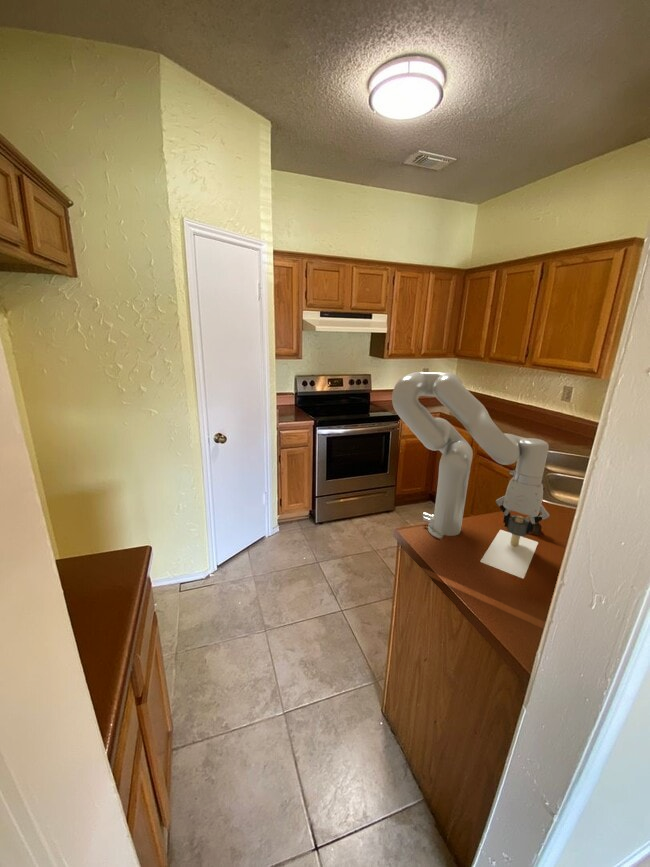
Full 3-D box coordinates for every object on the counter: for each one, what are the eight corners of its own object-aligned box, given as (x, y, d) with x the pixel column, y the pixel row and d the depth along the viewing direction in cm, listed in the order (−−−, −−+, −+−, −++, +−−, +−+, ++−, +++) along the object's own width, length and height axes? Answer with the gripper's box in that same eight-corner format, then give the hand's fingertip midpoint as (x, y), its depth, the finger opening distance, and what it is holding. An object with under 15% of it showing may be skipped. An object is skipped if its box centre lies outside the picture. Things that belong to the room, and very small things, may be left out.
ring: (504, 531, 118) (506, 520, 116) (509, 524, 122) (511, 513, 121) (525, 538, 114) (527, 527, 113) (528, 530, 118) (531, 519, 117)
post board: (479, 565, 111) (485, 532, 107) (499, 533, 129) (505, 504, 125) (522, 583, 104) (530, 548, 100) (537, 546, 122) (544, 515, 118)
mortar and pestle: (521, 532, 129) (531, 486, 124) (518, 523, 135) (527, 479, 130) (542, 536, 128) (553, 489, 122) (538, 526, 134) (548, 482, 128)
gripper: (495, 474, 115) (486, 524, 120) (558, 489, 105) (545, 544, 110) (501, 467, 121) (492, 515, 126) (561, 481, 110) (549, 533, 116)
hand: (517, 528), depth 118 cm, fingers closed on ring, 5 cm apart
